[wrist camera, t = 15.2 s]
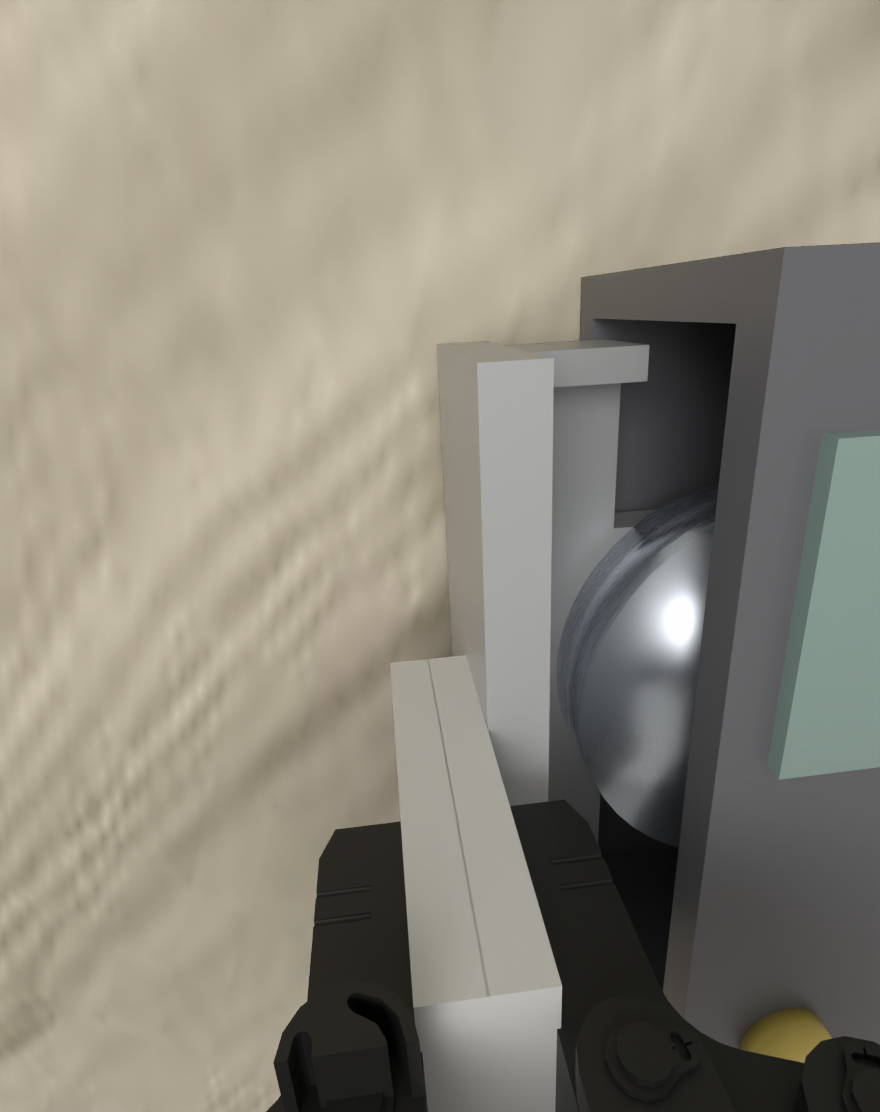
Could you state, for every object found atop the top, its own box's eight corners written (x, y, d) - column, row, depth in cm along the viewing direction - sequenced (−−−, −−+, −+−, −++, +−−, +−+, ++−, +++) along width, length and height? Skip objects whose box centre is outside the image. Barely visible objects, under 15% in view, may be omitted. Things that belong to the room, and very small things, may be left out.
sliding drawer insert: (463, 876, 18) (497, 1068, 13) (436, 344, 13) (477, 363, 8) (1038, 800, 19) (1242, 949, 15) (1222, 296, 14) (1619, 290, 10)
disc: (554, 817, 16) (576, 876, 14) (557, 492, 13) (587, 518, 11) (868, 776, 17) (924, 828, 15) (942, 459, 14) (1024, 480, 12)
